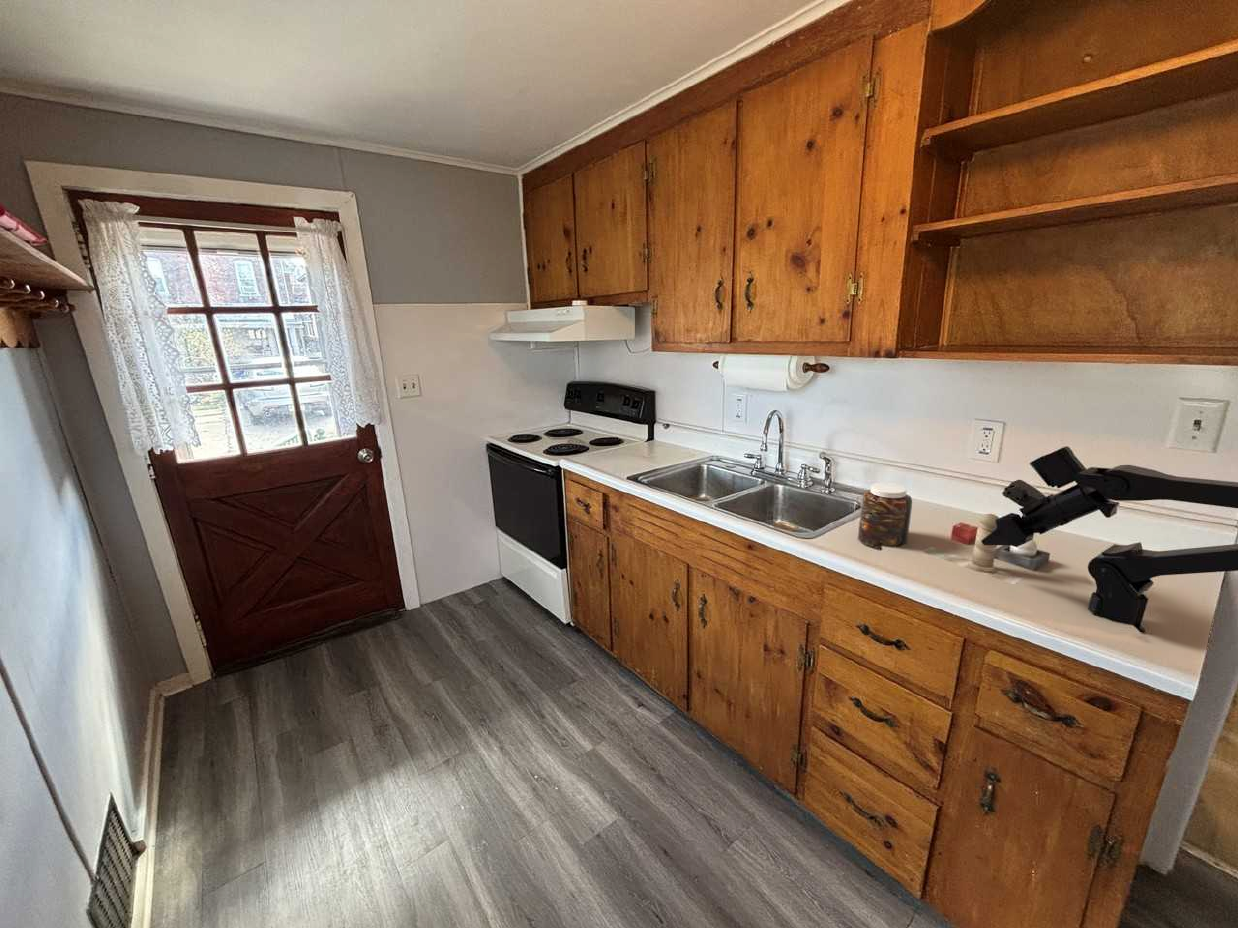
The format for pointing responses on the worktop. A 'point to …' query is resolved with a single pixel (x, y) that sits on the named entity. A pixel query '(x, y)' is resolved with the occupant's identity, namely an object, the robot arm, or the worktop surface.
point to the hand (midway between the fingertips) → (992, 538)
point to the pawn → (984, 553)
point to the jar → (885, 516)
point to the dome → (1025, 549)
